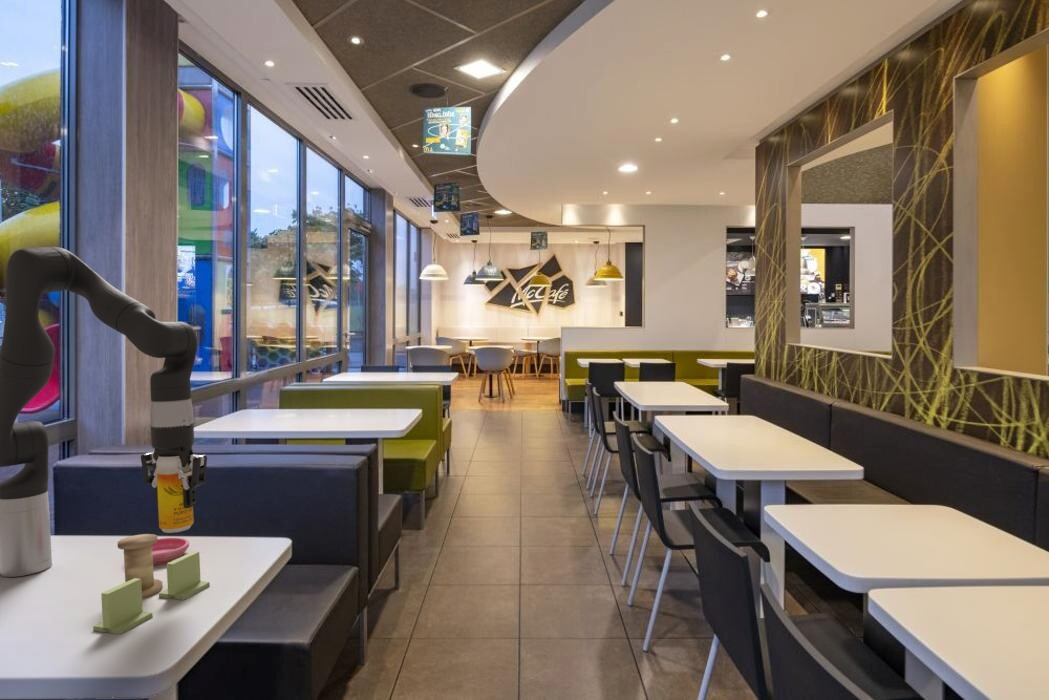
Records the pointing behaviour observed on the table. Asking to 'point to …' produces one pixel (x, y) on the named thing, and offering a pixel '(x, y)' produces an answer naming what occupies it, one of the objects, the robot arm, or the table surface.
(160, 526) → the beer can
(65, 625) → the table surface
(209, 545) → the table surface
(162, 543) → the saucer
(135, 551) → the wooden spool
